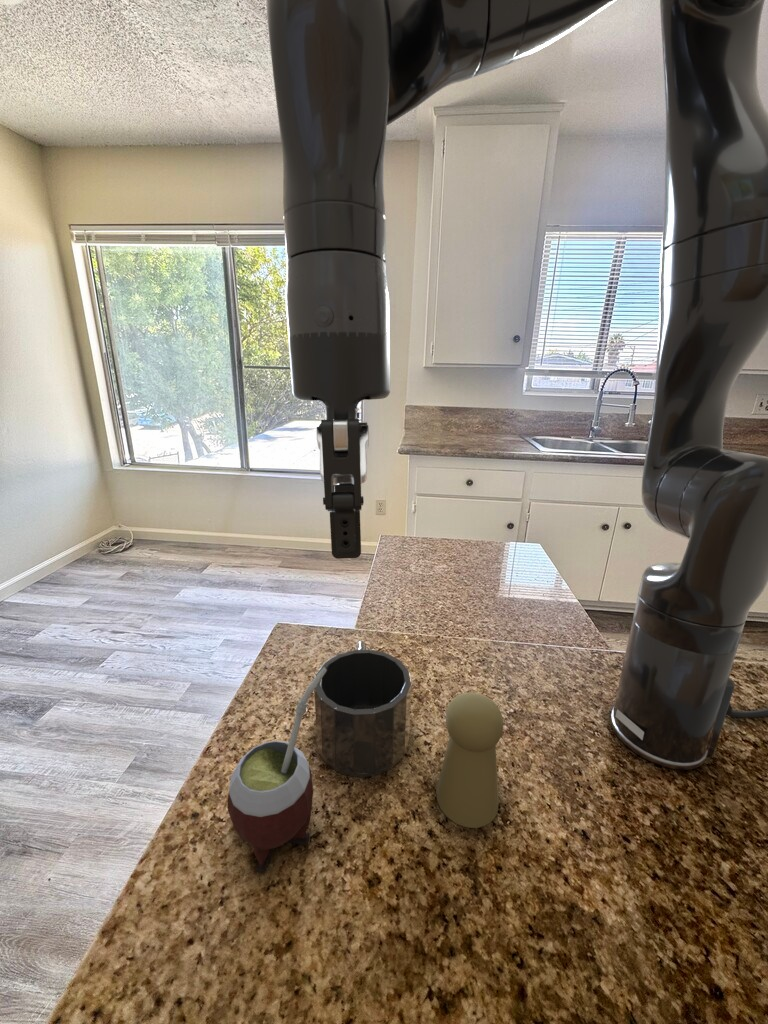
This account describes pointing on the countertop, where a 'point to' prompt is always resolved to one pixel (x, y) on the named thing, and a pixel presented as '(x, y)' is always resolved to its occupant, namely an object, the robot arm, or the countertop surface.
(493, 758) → the beige pawn figure
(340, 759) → the mug
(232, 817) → the mate gourd
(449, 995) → the countertop surface
